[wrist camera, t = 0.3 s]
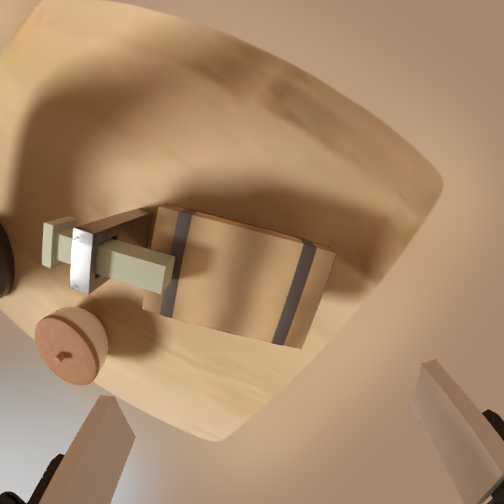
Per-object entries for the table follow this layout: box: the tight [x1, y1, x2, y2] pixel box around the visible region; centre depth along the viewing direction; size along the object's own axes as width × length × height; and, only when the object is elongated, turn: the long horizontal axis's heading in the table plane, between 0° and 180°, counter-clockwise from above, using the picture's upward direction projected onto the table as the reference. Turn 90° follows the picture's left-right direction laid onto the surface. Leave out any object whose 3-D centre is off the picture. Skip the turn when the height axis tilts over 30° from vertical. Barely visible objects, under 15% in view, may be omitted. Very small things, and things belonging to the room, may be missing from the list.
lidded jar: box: [35, 307, 108, 385], centre depth 33 cm, size 11×11×9 cm
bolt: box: [42, 216, 175, 294], centre depth 23 cm, size 12×4×4 cm, turn 75°
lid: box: [142, 204, 337, 349], centre depth 27 cm, size 16×10×4 cm, turn 75°
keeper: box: [70, 209, 153, 295], centre depth 27 cm, size 2×5×14 cm, turn 165°
